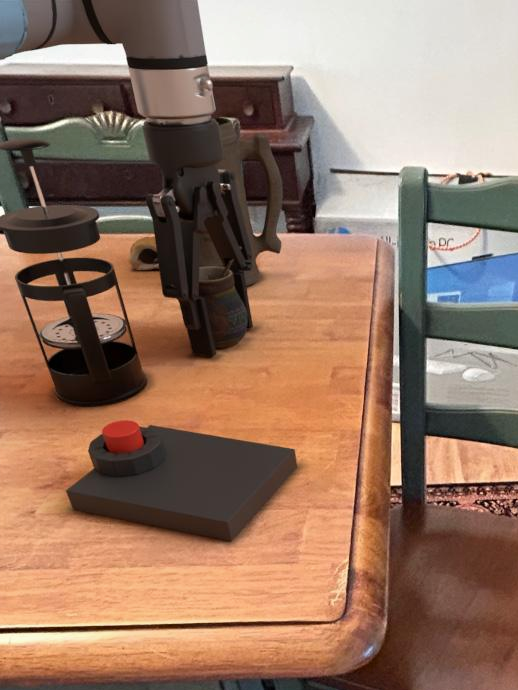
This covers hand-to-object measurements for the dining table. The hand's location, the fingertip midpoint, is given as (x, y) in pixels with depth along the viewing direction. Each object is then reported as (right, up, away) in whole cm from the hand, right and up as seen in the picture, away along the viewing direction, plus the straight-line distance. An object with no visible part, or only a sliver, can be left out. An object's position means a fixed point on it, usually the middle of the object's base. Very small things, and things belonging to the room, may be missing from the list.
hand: (223, 339), depth 89 cm
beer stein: (-3, +15, +18) cm, 24 cm away
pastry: (-17, +20, +23) cm, 35 cm away
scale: (+5, -22, -24) cm, 33 cm away
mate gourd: (0, 0, 0) cm, 1 cm away
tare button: (-1, -18, -25) cm, 31 cm away
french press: (-10, -9, -10) cm, 17 cm away
